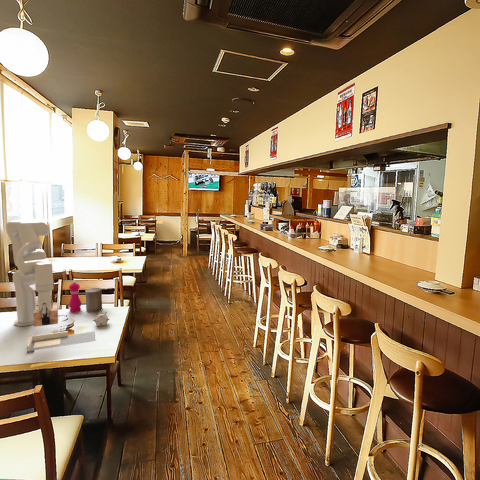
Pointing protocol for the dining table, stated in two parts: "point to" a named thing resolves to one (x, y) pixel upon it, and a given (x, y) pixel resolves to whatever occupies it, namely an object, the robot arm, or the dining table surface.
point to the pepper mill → (74, 298)
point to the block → (52, 314)
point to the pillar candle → (93, 299)
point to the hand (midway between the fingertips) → (46, 322)
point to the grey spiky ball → (101, 319)
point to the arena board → (57, 340)
